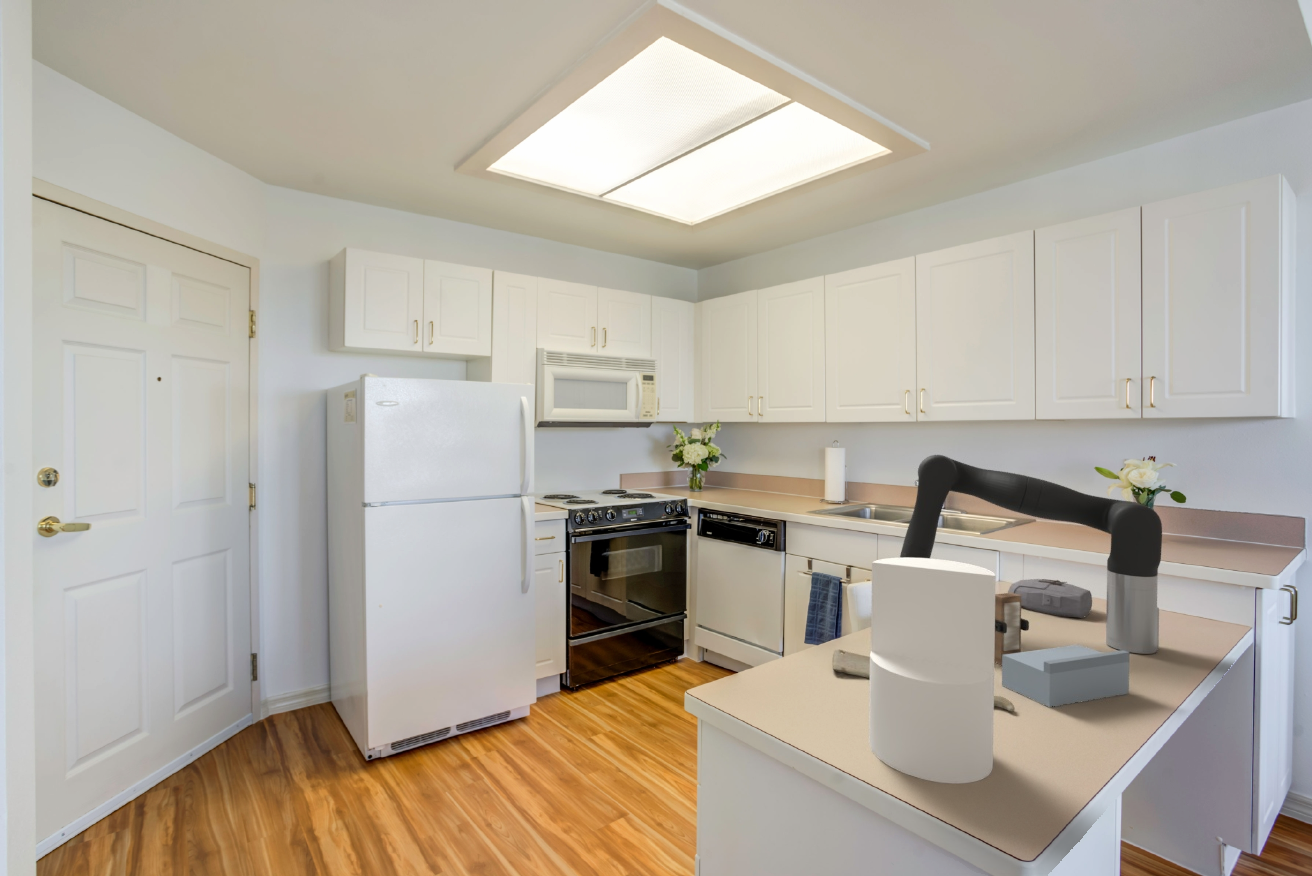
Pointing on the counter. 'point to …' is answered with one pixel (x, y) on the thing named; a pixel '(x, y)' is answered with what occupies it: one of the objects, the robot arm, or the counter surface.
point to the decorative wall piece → (861, 667)
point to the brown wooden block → (1008, 625)
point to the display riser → (1066, 674)
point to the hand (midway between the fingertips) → (1016, 627)
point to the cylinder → (932, 668)
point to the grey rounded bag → (1053, 597)
